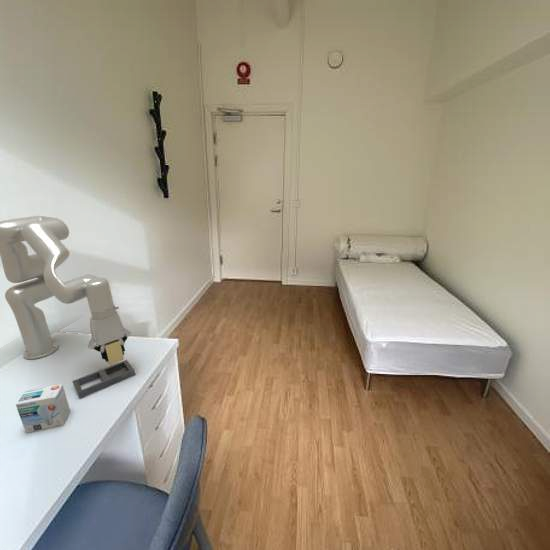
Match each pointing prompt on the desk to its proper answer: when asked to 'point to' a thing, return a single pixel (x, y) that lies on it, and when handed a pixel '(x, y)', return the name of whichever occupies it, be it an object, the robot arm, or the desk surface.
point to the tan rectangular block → (114, 352)
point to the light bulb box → (43, 408)
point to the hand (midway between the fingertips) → (114, 356)
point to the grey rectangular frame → (103, 378)
